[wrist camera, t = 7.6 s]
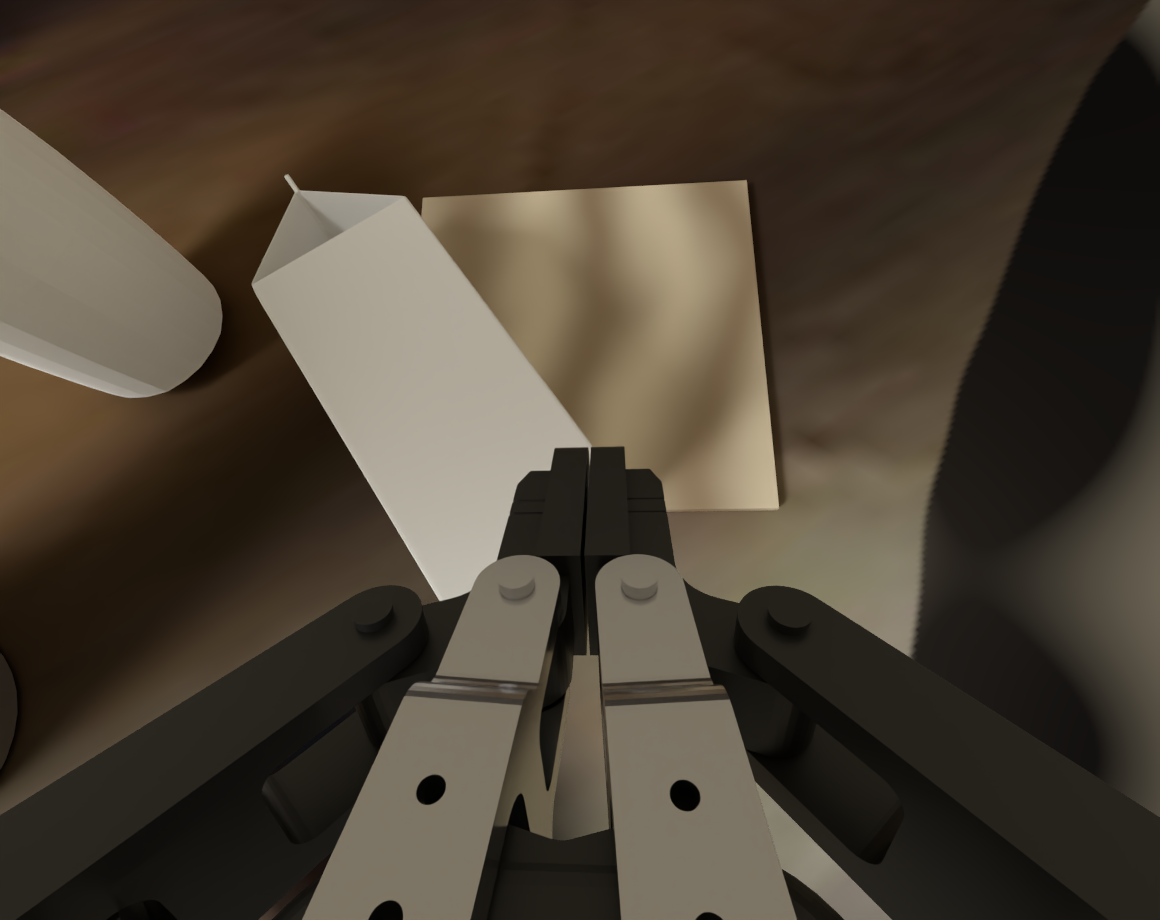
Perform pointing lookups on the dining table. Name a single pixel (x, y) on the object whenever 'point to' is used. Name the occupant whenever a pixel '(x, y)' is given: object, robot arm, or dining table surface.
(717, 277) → the birch board
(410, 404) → the milk carton
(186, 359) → the cup
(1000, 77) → the dining table surface
